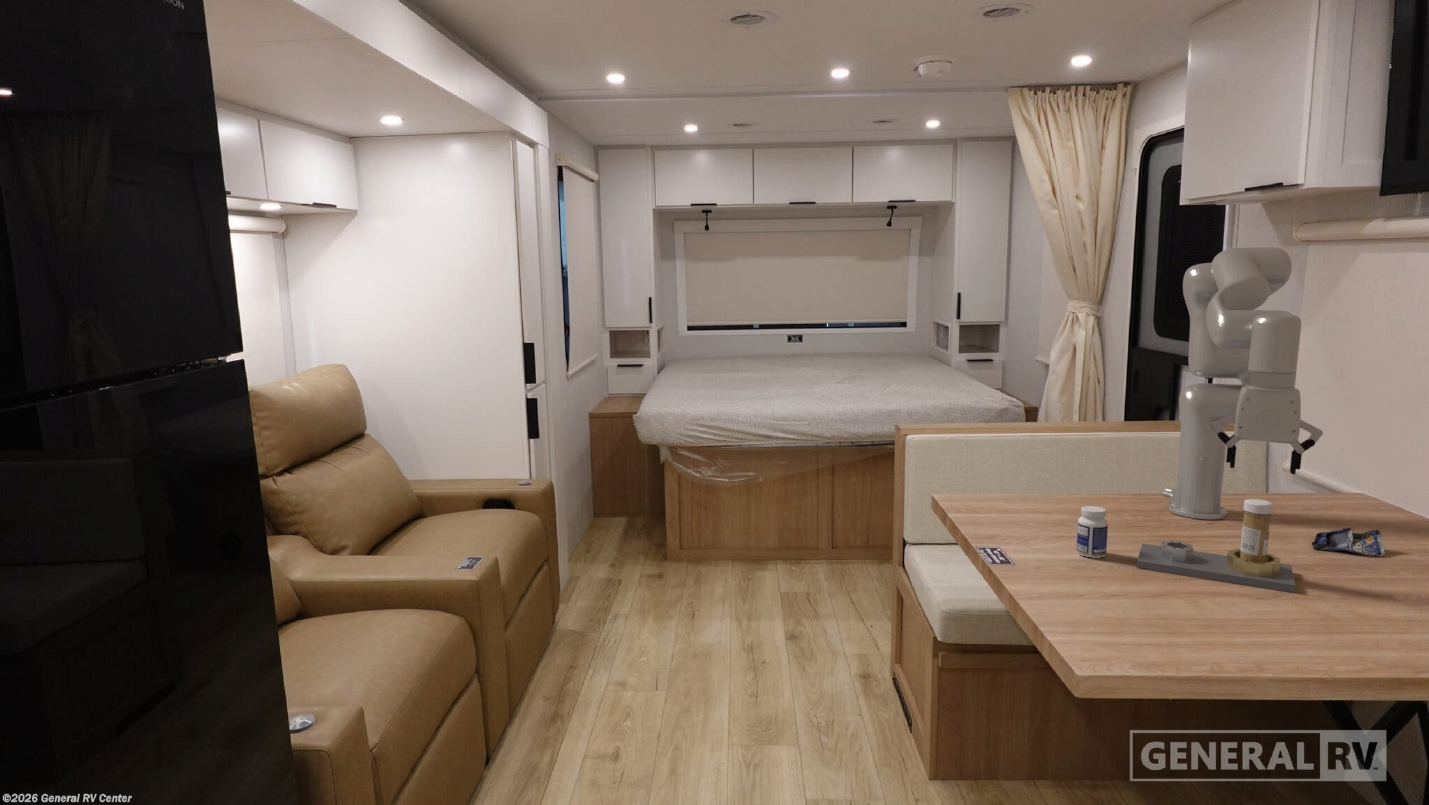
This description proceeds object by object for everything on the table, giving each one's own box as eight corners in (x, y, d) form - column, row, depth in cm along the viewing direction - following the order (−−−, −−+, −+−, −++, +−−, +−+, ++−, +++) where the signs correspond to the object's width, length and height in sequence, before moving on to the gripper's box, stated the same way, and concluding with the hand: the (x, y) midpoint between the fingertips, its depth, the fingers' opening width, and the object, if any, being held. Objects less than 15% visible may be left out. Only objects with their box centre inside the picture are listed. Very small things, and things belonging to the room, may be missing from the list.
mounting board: (1136, 567, 166) (1137, 560, 165) (1142, 550, 176) (1142, 543, 175) (1294, 593, 152) (1295, 585, 152) (1290, 572, 162) (1291, 565, 162)
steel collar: (1154, 555, 168) (1155, 543, 168) (1172, 551, 171) (1173, 539, 170) (1179, 563, 163) (1180, 551, 163) (1198, 559, 166) (1199, 547, 165)
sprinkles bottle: (1271, 572, 158) (1278, 504, 156) (1250, 573, 158) (1257, 505, 156) (1253, 563, 163) (1260, 497, 161) (1232, 564, 162) (1238, 498, 160)
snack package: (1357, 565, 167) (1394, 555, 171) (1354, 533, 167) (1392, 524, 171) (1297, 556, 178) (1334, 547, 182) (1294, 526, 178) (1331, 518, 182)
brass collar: (1216, 565, 162) (1217, 553, 162) (1245, 558, 166) (1246, 546, 165) (1260, 579, 155) (1261, 567, 154) (1289, 572, 158) (1290, 560, 158)
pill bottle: (1106, 552, 175) (1109, 506, 173) (1106, 561, 170) (1109, 514, 168) (1076, 548, 177) (1079, 503, 176) (1075, 557, 172) (1078, 510, 170)
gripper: (1216, 380, 156) (1208, 468, 159) (1330, 386, 147) (1319, 480, 150) (1217, 375, 162) (1209, 460, 165) (1326, 380, 153) (1316, 470, 156)
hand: (1261, 469), depth 157 cm, fingers open, 9 cm apart
